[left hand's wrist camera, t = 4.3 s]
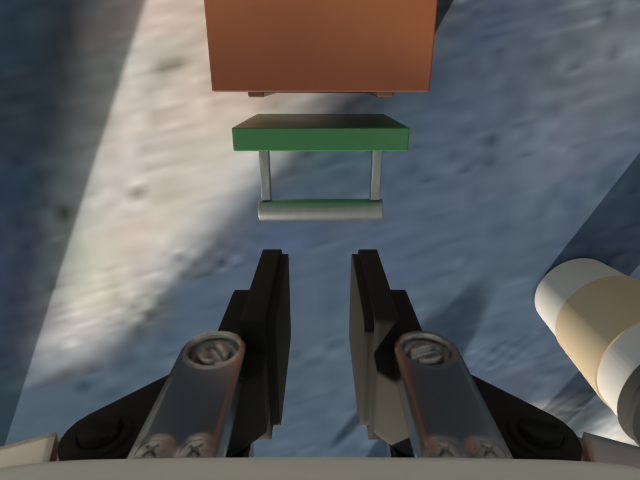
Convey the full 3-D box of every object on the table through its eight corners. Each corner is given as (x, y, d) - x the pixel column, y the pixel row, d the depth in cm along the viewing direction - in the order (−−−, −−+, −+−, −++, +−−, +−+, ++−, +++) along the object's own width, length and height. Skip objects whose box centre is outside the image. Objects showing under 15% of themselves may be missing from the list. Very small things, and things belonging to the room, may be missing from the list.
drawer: (379, 199, 32) (400, 243, 24) (261, 199, 32) (240, 243, 24) (398, -151, 24) (441, -277, 16) (242, -152, 24) (200, -276, 16)
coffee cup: (644, 296, 36) (848, 432, 22) (554, 352, 38) (689, 508, 24) (595, 225, 34) (789, 327, 20) (502, 289, 36) (618, 423, 22)
